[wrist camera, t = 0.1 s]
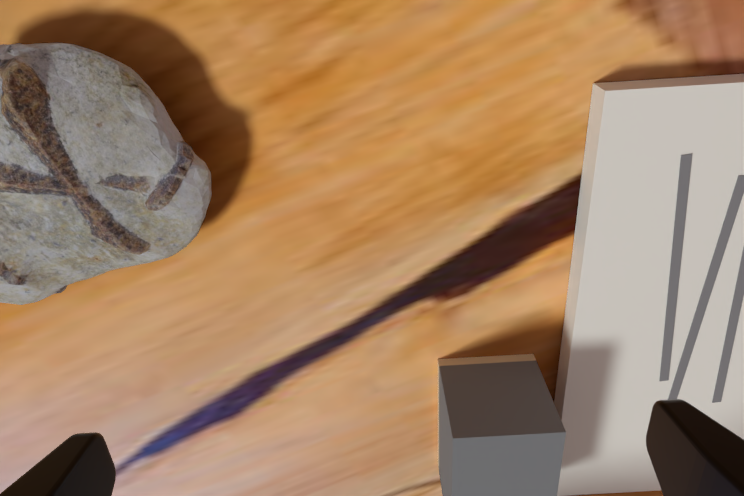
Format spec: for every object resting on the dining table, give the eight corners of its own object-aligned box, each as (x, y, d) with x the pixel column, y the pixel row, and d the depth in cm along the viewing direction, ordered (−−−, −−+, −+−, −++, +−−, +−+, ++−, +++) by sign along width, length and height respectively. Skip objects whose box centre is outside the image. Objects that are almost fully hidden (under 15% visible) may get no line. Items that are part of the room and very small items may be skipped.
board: (749, 466, 31) (763, 485, 30) (544, 477, 31) (551, 497, 30) (894, 64, 21) (923, 71, 20) (593, 83, 21) (605, 91, 20)
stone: (112, -18, 20) (69, -9, 17) (253, 205, 24) (237, 242, 21) (-146, 133, 22) (-223, 163, 19) (22, 312, 26) (-22, 360, 23)
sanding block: (522, 456, 31) (549, 543, 26) (437, 461, 31) (450, 549, 26) (532, 352, 27) (566, 432, 23) (437, 357, 27) (452, 438, 23)
